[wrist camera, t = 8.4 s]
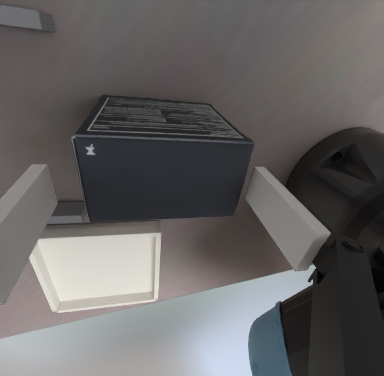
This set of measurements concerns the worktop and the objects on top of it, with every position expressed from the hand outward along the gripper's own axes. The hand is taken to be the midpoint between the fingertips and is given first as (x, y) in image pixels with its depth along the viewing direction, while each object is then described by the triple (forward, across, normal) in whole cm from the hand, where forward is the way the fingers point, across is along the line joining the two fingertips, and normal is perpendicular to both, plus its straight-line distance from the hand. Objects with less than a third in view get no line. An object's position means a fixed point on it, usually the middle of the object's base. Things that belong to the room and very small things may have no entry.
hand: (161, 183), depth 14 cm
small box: (+10, 0, 0) cm, 10 cm away
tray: (+9, +7, +19) cm, 23 cm away
